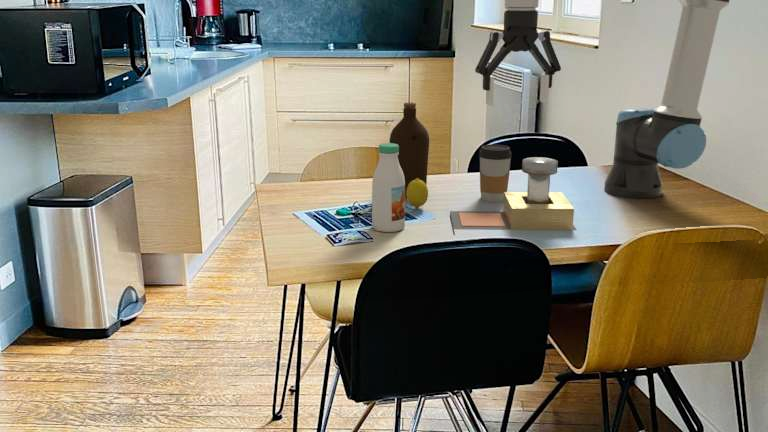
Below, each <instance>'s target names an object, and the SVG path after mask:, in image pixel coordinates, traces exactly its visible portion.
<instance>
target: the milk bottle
mask: <svg viewBox="0 0 768 432" xmlns="http://www.w3.org/2000/svg"><path fill="white" fill-rule="evenodd" d="M398 152H399V146H398V145H397V144H394V143H390V142H387V143H386V142H385V143H381V144H378V155H379V160H378V163H377V166H376V168H375V170H374V172H373V176H372V181H371V183H372V184H371V185H372V186H371V188H372V189H371V197H372V198H371V223H372V224H371V225H372V228H373V229H374V230H375V231H377V232H383V233H395V232H399V231H403V229H405V226H406V225H405V224H406V199H405V178H404V174H403V171H402V169H401V167H400V164H399V161H398V154H399V153H398Z"/></svg>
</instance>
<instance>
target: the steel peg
mask: <svg viewBox="0 0 768 432" xmlns="http://www.w3.org/2000/svg"><path fill="white" fill-rule="evenodd" d="M558 163H559V161H558V160H556V159H553V158H549V157H542V156H540V157H539V156H538V157H537V156H534V157H533V156H532V157H526V158H523V159H522V163H521V165H522V166H521V168H522V169H521V171H522V172H523V173H524V174H526V175H527V174H528V175H527V176H528V177H527V190H526V192H527V204H548V201H549V192H550V184H551V183H550V182H551V176H553V175H556V174H557V173H558V166H559V165H558Z"/></svg>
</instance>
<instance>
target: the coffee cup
mask: <svg viewBox="0 0 768 432" xmlns="http://www.w3.org/2000/svg"><path fill="white" fill-rule="evenodd" d="M512 156H513V155H512V151H511V147H510V146H508V145H503V144H486V145H485V144H484V145H482V146H481V147H480V150H479V155H478V157H479V187H480V188H479V189H480V190H479V191H480V199H481V200H482V201H485V202H491V203H492V202H493V203H494V202H495V203H497V202H498V203H499V202H504V192H508V188H509V178H510V169H511V160H512V159H511V158H512Z"/></svg>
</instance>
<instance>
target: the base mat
mask: <svg viewBox="0 0 768 432" xmlns="http://www.w3.org/2000/svg"><path fill="white" fill-rule="evenodd" d="M449 219H450V220H449V221H450V224H451V228H452V233H453V236H455V235H456V234H455V230H492V231H493V230H494V231H496V230H500V231H501V230H504V231H505V230H506V231H507V230H510V231H511V230H513V231H515V230H516V231H517V229H510V226H509V224H508V222H507V220H506V217H505V215H504V213H503V211H490V210H489V211H481V210H479V211H478V210H477V211H475V210H474V211H473V210H471V211H468V210H467V211H466V210H465V211H464V210H459V211H458V210H450V211H449ZM571 231H577V228H576V227H575V225H574V224H573V229H572V230H571Z"/></svg>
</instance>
